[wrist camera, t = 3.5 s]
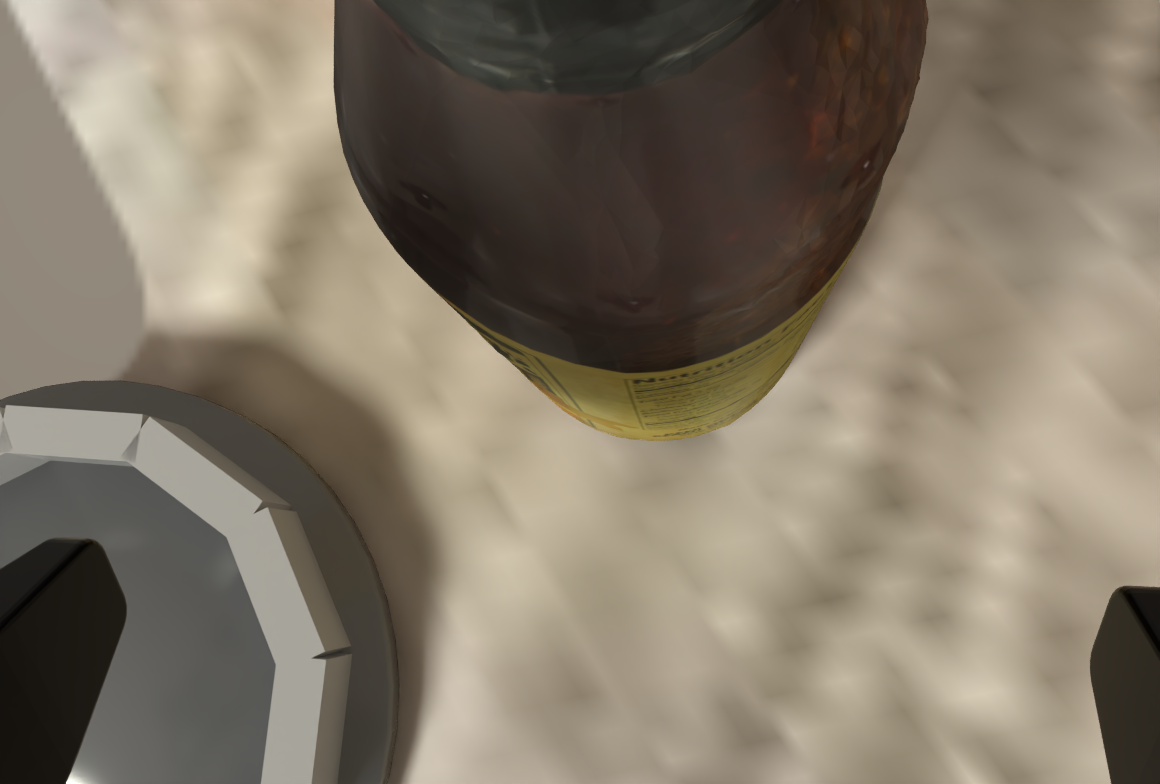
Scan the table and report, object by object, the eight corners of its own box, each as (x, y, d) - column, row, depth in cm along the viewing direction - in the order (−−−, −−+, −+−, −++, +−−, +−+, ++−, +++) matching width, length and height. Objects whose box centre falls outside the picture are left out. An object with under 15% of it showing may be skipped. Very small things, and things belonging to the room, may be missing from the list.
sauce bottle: (511, 197, 24) (-411, -1605, 4) (785, 162, 23) (1246, -2173, 3) (533, 480, 22) (-634, -162, 3) (823, 451, 22) (1862, -620, 2)
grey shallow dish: (504, 872, 21) (480, 908, 19) (-96, 1157, 21) (-190, 1226, 19) (258, 285, 24) (211, 255, 22) (-264, 547, 24) (-363, 544, 22)
